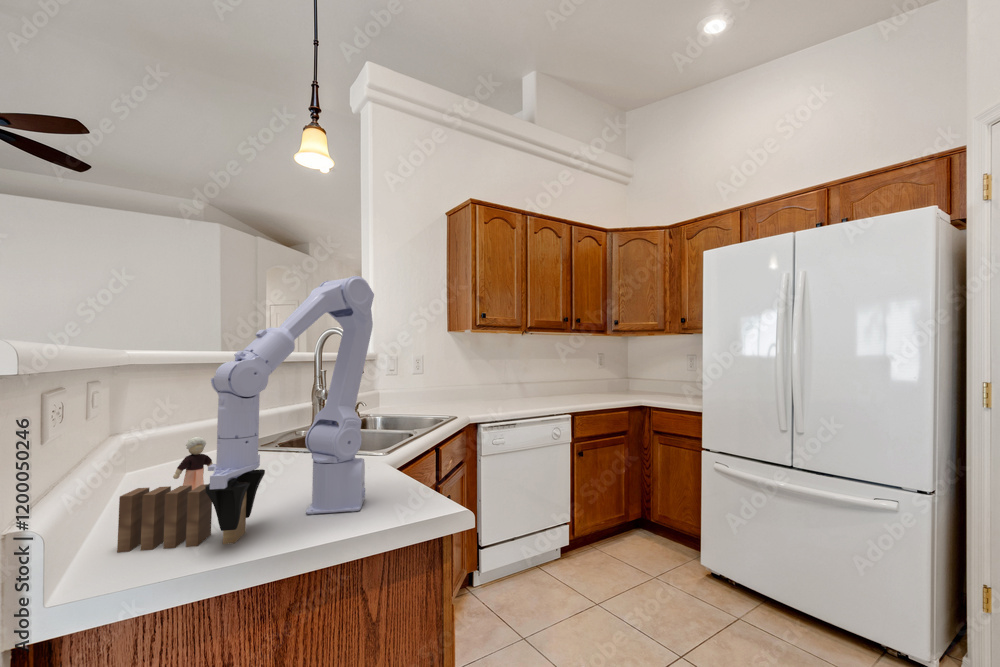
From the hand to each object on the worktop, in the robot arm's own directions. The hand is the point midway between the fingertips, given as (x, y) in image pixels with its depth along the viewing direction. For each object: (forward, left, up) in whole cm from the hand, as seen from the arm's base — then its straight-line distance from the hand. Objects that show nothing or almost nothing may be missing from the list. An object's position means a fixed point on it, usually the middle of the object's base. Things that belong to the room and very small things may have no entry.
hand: (235, 523), depth 70 cm
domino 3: (+8, 0, -2) cm, 8 cm away
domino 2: (+11, 0, -2) cm, 11 cm away
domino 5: (0, 0, -2) cm, 2 cm away
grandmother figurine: (+16, -22, -2) cm, 28 cm away
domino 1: (+14, 0, -2) cm, 14 cm away
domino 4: (+5, 0, -2) cm, 6 cm away
